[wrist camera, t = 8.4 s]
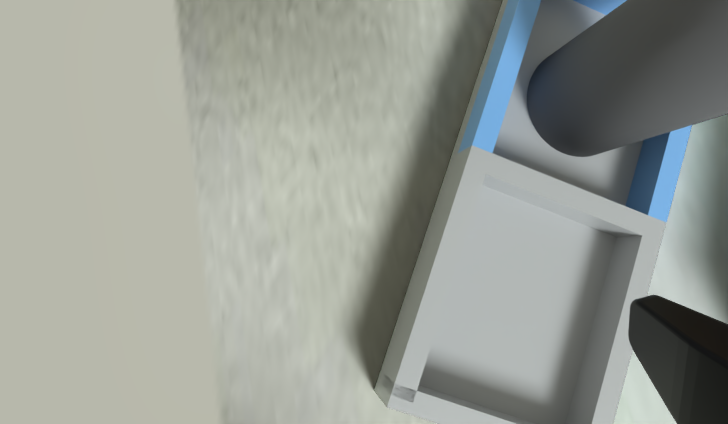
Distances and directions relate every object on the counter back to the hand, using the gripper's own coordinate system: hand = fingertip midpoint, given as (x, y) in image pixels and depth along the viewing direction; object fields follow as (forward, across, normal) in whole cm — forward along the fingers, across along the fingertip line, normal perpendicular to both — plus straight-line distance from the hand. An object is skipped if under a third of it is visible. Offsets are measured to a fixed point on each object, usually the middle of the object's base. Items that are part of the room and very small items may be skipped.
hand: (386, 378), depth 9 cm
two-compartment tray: (+11, -8, +4) cm, 14 cm away
